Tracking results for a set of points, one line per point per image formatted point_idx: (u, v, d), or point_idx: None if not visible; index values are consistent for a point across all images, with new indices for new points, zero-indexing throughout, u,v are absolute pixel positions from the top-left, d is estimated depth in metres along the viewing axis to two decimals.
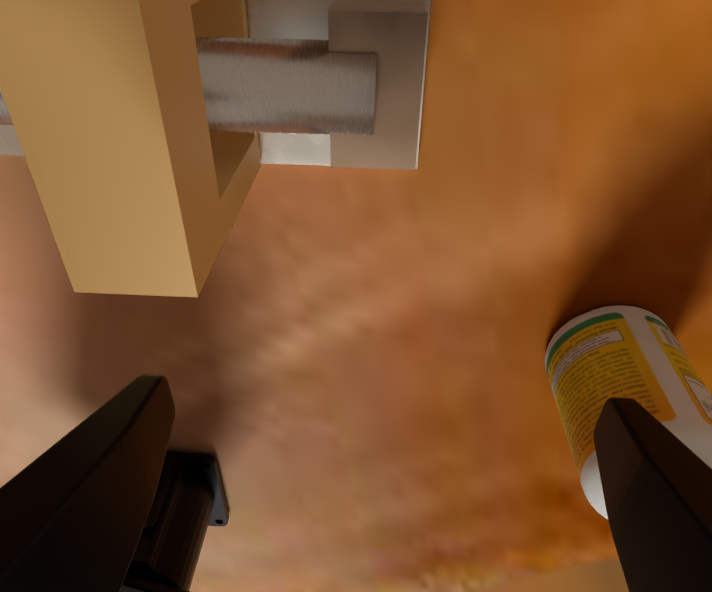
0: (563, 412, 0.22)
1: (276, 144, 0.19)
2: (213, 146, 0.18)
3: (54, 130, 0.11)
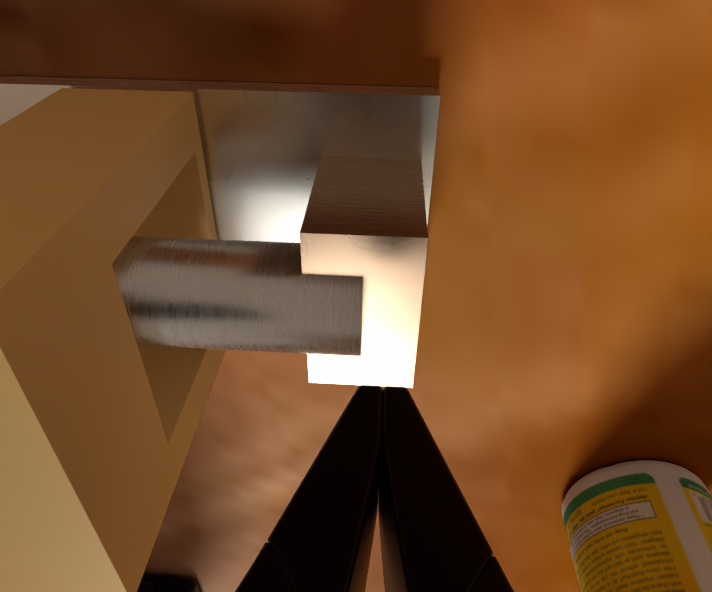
0: None
1: None
2: None
3: None
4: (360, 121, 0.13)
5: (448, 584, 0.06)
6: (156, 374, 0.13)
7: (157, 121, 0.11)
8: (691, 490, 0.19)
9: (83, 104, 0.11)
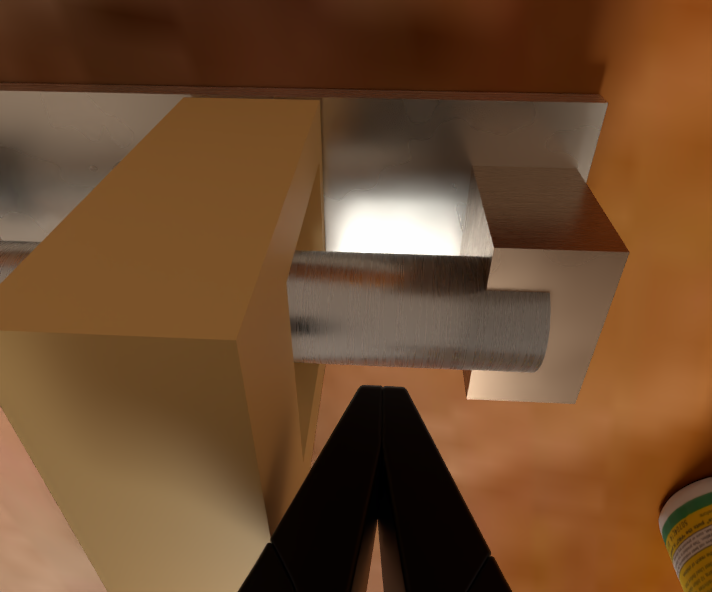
0: None
1: None
2: None
3: (107, 496, 0.08)
4: (519, 129, 0.12)
5: (446, 584, 0.06)
6: None
7: (303, 132, 0.10)
8: None
9: (216, 114, 0.11)
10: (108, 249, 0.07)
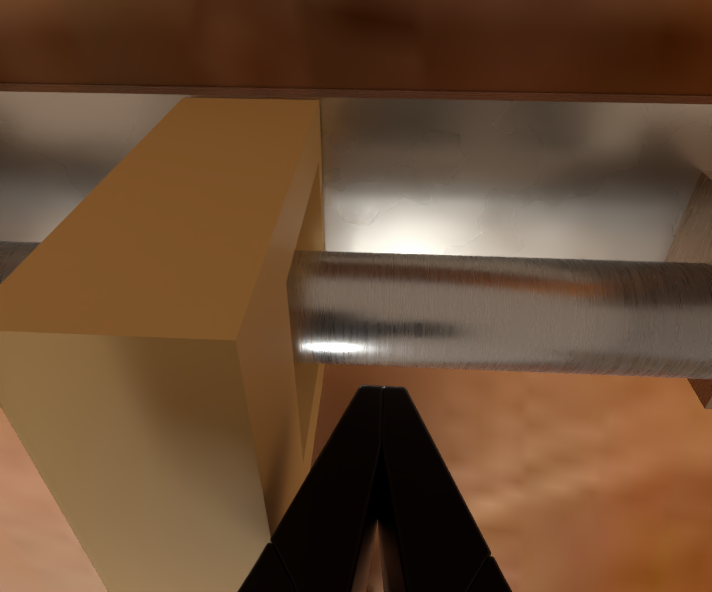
0: None
1: None
2: None
3: (107, 496, 0.08)
4: None
5: (447, 584, 0.06)
6: None
7: (302, 132, 0.10)
8: None
9: (215, 114, 0.11)
10: (108, 249, 0.07)
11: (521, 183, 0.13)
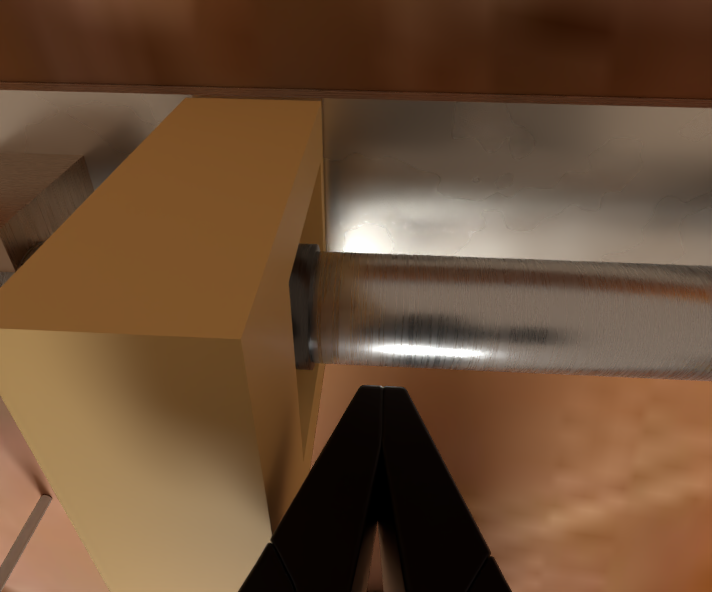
0: None
1: None
2: None
3: (110, 494, 0.08)
4: None
5: (446, 584, 0.06)
6: None
7: (304, 133, 0.10)
8: None
9: (217, 114, 0.11)
10: (112, 248, 0.07)
11: (695, 190, 0.13)
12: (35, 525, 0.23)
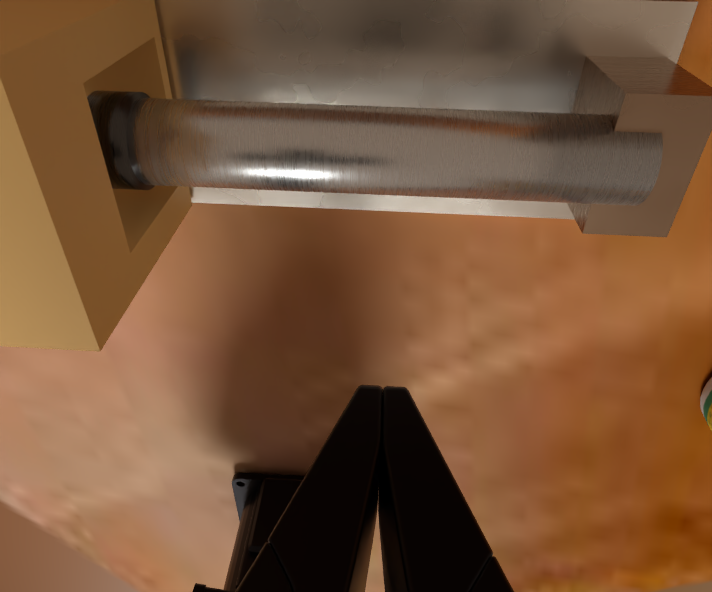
0: None
1: None
2: (139, 191, 0.18)
3: None
4: (626, 24, 0.16)
5: (448, 584, 0.06)
6: (124, 216, 0.17)
7: None
8: None
9: None
10: None
11: (449, 66, 0.17)
12: None
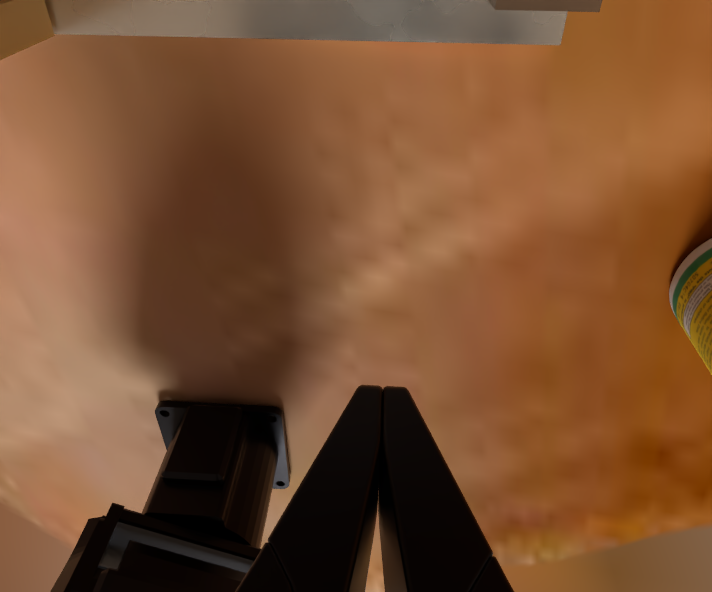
0: (709, 340, 0.19)
1: (397, 15, 0.16)
2: None
3: None
4: None
5: (448, 584, 0.06)
6: None
7: None
8: None
9: None
10: None
11: None
12: None
